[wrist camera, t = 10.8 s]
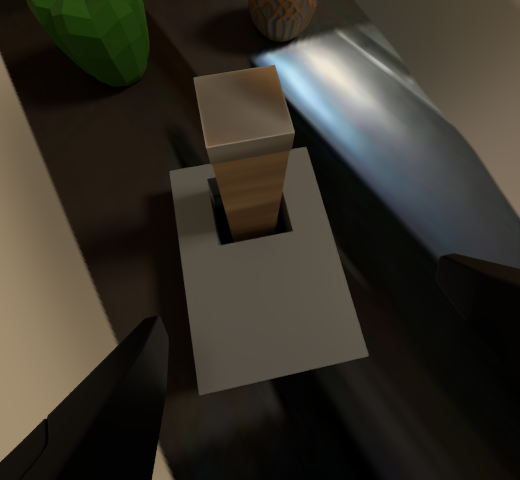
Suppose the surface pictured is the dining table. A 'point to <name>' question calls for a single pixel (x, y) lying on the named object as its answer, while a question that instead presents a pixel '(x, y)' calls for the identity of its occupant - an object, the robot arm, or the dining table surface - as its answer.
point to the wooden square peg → (247, 145)
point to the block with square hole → (263, 285)
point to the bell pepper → (99, 36)
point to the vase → (281, 17)
